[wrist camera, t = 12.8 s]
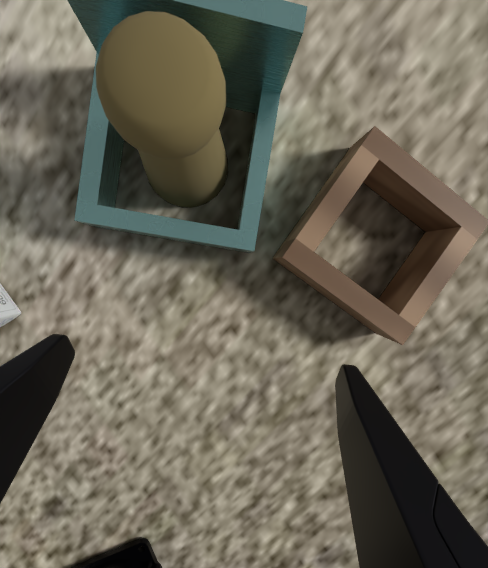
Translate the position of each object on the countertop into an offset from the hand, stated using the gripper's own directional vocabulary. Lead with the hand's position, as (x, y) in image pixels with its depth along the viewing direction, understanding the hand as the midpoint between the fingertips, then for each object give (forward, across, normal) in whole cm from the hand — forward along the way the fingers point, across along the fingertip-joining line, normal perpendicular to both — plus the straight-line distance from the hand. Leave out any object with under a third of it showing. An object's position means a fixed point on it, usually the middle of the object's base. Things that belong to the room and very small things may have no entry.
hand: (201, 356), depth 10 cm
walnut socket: (+15, -9, +4) cm, 18 cm away
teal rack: (+16, +5, -1) cm, 17 cm away
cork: (+16, +5, -1) cm, 17 cm away
